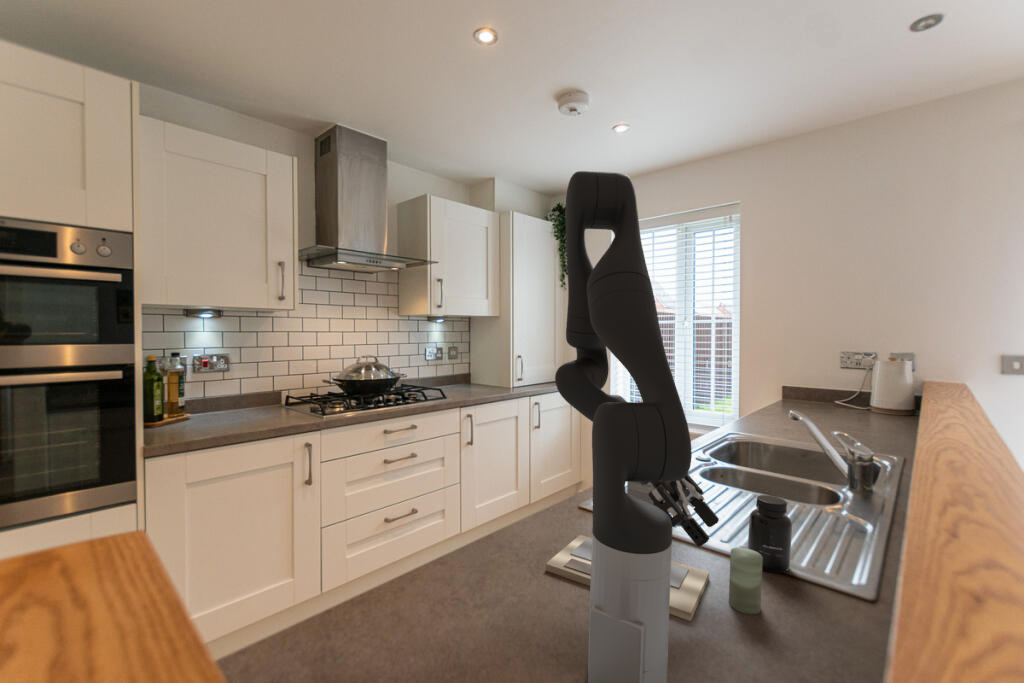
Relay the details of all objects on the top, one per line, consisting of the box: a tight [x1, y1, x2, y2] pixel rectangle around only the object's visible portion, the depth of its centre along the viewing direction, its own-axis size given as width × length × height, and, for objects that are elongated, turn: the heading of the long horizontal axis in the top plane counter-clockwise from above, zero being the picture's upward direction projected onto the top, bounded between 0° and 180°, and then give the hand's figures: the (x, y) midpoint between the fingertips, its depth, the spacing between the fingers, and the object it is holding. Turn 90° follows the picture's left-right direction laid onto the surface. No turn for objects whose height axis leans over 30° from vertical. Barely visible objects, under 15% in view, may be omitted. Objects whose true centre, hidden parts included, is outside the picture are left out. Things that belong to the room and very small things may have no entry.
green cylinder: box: [728, 547, 763, 615], centre depth 71 cm, size 4×4×8 cm
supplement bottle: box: [747, 494, 793, 574], centre depth 84 cm, size 7×7×12 cm
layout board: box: [545, 534, 710, 622], centre depth 80 cm, size 14×24×1 cm, turn 57°
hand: (709, 533), depth 74 cm, fingers open, 8 cm apart
